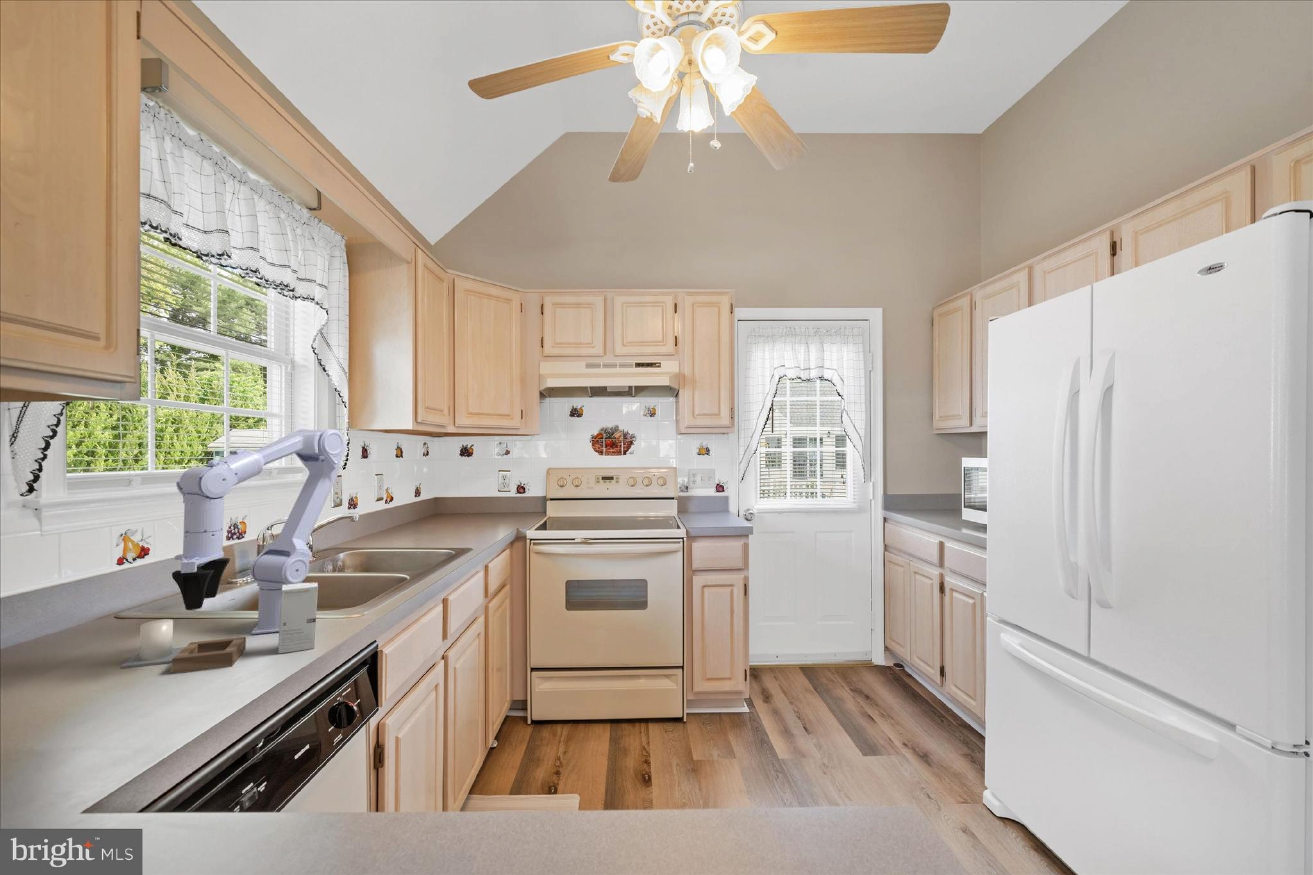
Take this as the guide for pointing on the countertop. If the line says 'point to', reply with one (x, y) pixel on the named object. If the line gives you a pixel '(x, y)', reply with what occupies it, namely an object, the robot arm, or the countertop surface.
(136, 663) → the slate mat
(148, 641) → the cream rounded capsule
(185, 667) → the walnut holder
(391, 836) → the countertop surface
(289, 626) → the skincare box
